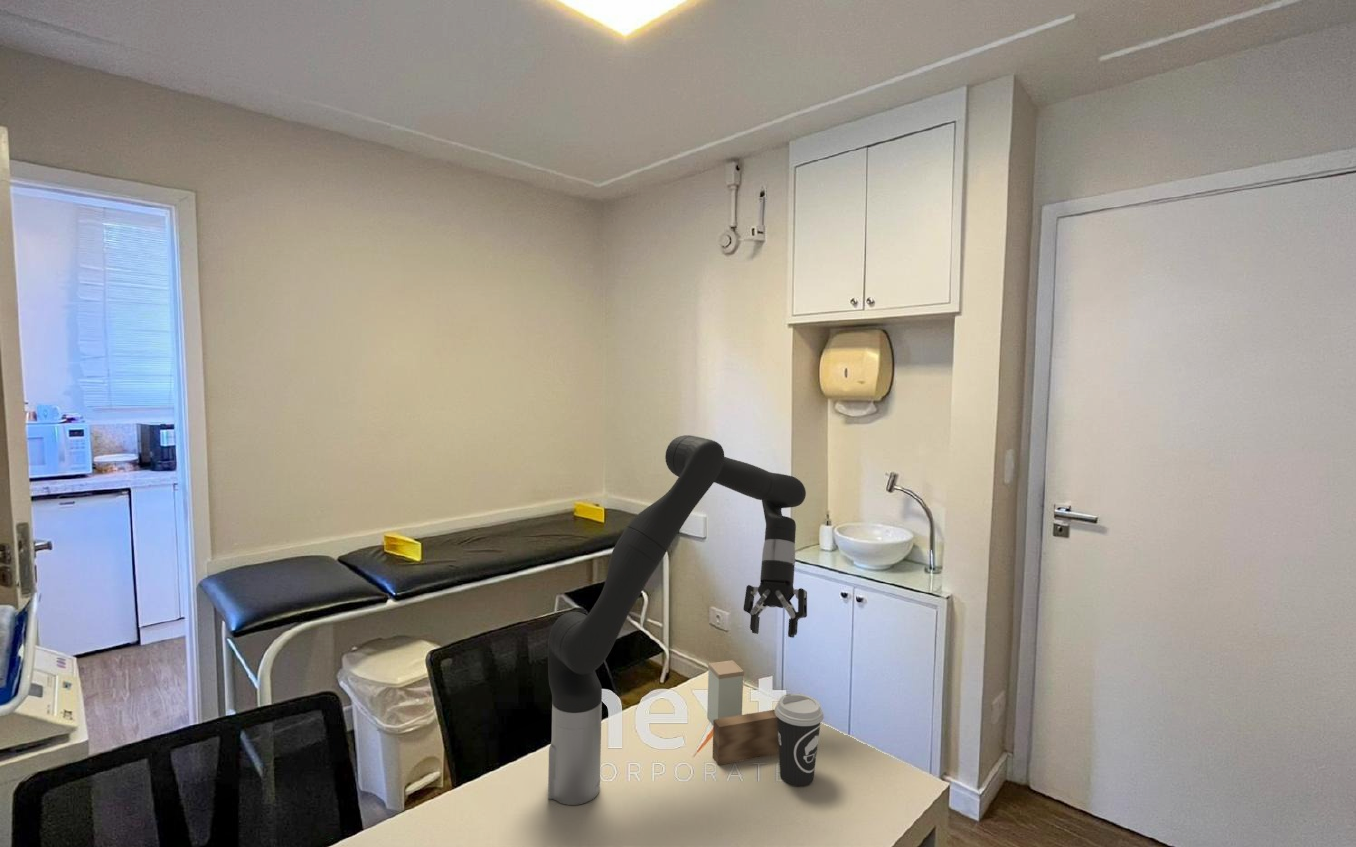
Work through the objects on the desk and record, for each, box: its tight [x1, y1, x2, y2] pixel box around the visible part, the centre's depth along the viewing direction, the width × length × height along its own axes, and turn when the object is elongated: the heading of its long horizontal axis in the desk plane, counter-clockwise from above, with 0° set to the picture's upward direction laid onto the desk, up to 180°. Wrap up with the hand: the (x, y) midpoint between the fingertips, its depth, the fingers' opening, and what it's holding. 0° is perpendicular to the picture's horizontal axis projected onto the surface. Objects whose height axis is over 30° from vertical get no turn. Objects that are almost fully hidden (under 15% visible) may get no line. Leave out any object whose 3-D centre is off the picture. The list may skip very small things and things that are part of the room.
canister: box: [706, 659, 745, 726], centre depth 144 cm, size 6×6×13 cm
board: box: [712, 709, 779, 766], centre depth 131 cm, size 16×3×8 cm, turn 110°
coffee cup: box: [773, 693, 825, 788], centre depth 124 cm, size 10×10×15 cm
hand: (772, 635), depth 139 cm, fingers open, 8 cm apart
